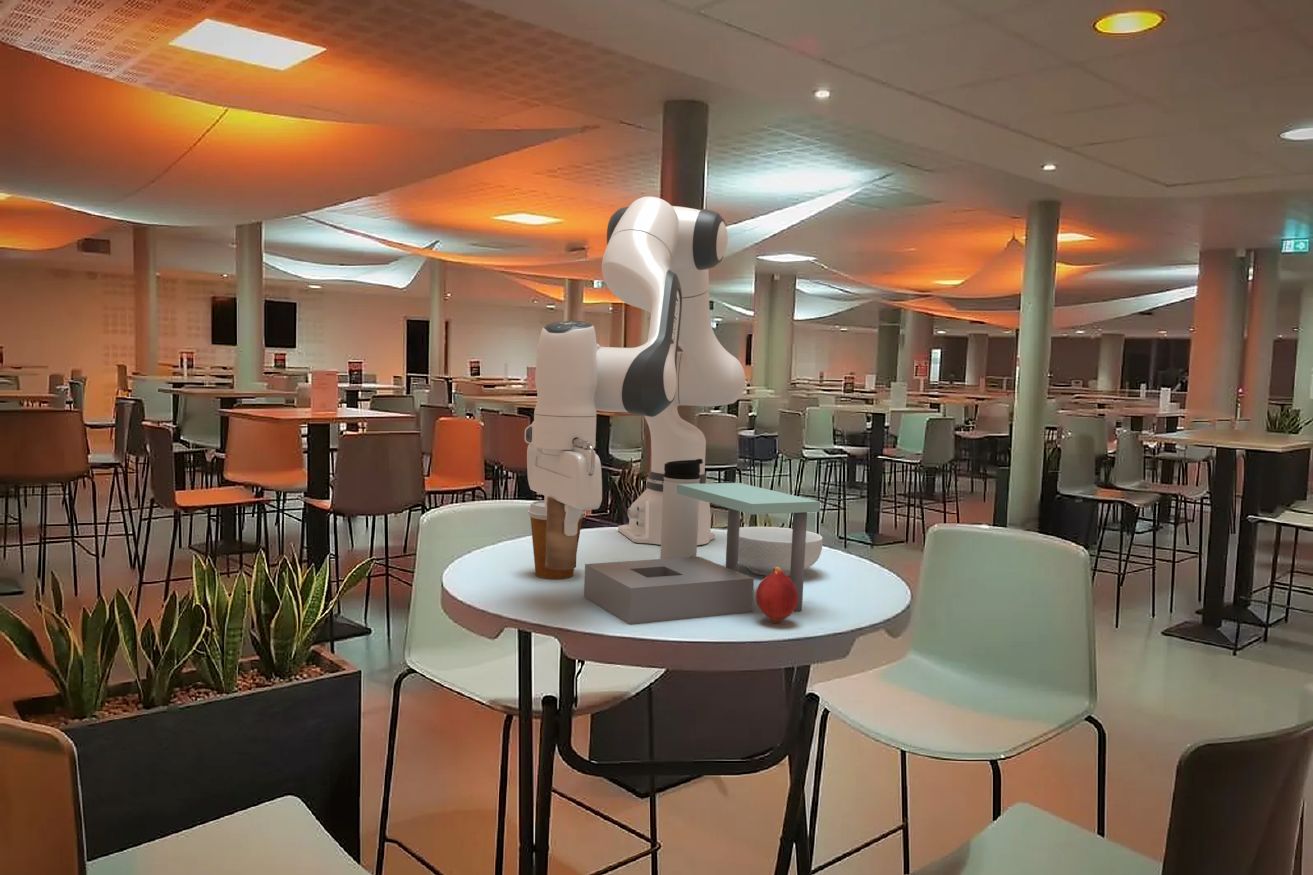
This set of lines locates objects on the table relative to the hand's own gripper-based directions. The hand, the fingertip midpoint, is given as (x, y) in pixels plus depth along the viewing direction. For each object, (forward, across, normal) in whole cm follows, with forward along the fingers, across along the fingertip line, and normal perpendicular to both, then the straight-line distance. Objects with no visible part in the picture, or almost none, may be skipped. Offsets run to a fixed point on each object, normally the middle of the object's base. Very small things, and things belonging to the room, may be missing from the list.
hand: (561, 531), depth 129 cm
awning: (+11, -3, -29) cm, 31 cm away
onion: (+11, -17, -26) cm, 33 cm away
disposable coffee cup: (+12, +20, -7) cm, 24 cm away
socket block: (+11, -3, -16) cm, 20 cm away
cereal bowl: (+12, +11, -45) cm, 47 cm away
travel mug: (+12, +15, -28) cm, 33 cm away
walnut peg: (+5, 0, 0) cm, 5 cm away
